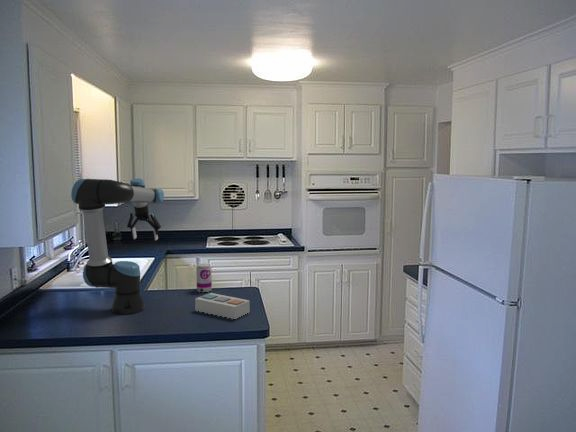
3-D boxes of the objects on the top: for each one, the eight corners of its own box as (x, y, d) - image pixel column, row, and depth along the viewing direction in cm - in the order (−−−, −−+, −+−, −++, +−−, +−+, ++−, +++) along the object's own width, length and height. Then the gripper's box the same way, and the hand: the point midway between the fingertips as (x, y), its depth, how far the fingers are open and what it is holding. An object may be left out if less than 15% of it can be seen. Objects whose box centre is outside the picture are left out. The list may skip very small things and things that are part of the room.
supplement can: (212, 292, 268) (212, 266, 266) (197, 293, 266) (197, 267, 264) (210, 288, 276) (210, 263, 274) (196, 289, 274) (195, 263, 272)
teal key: (210, 306, 236) (210, 298, 235) (201, 304, 238) (201, 296, 238) (217, 303, 240) (217, 295, 240) (208, 301, 243) (208, 293, 243)
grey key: (223, 309, 232) (223, 301, 231) (214, 307, 234) (214, 299, 234) (230, 306, 236) (230, 298, 236) (221, 304, 239) (221, 296, 239)
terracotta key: (236, 312, 228) (236, 303, 227) (227, 310, 230) (227, 302, 230) (243, 309, 232) (243, 301, 232) (234, 307, 235) (234, 299, 235)
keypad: (234, 319, 225) (234, 307, 224) (195, 310, 237) (195, 298, 236) (249, 312, 235) (249, 300, 234) (211, 304, 247) (211, 292, 246)
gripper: (163, 203, 278) (168, 237, 286) (123, 202, 282) (129, 235, 290) (158, 208, 271) (162, 242, 279) (117, 206, 276) (123, 240, 284)
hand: (145, 238), depth 285 cm, fingers open, 13 cm apart
